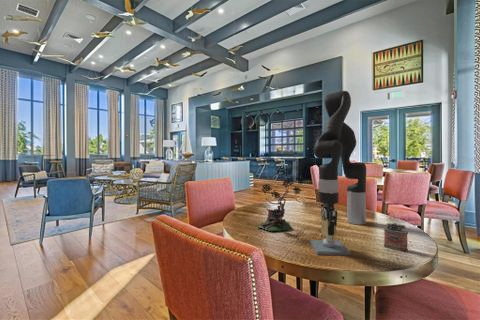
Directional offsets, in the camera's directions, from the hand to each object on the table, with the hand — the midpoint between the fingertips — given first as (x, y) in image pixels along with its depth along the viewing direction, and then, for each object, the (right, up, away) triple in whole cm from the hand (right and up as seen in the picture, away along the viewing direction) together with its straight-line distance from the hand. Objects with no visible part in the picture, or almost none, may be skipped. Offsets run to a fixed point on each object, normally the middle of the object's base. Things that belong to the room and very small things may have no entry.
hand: (328, 232), depth 93 cm
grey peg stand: (0, -6, 0) cm, 6 cm away
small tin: (+26, -6, -1) cm, 27 cm away
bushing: (0, -1, 0) cm, 1 cm away
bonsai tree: (-12, -6, +32) cm, 35 cm away
